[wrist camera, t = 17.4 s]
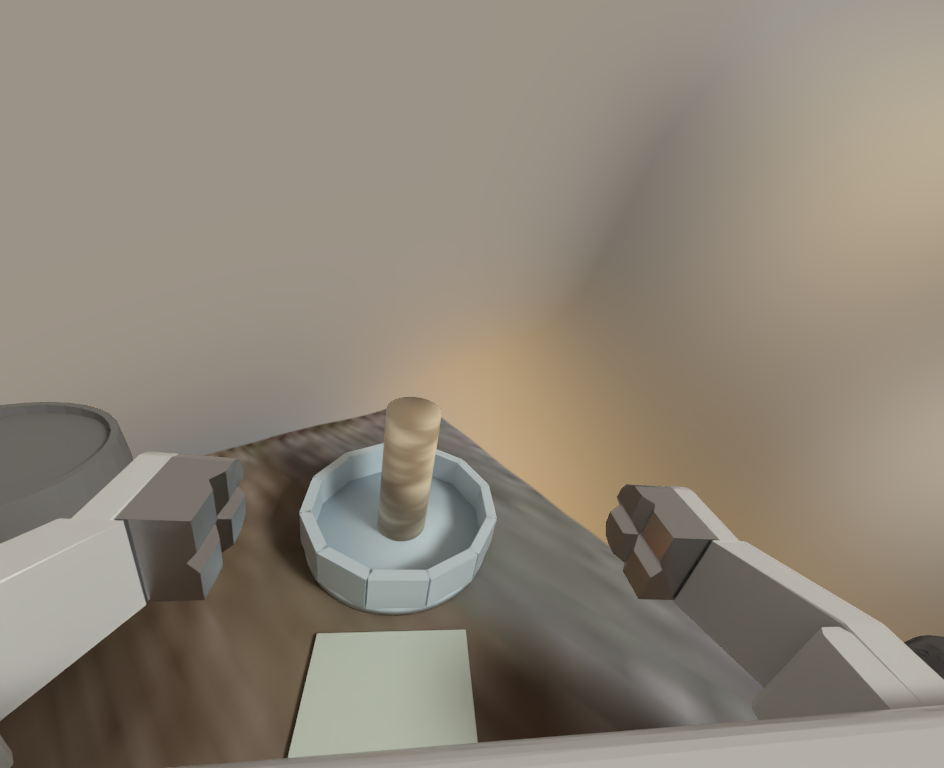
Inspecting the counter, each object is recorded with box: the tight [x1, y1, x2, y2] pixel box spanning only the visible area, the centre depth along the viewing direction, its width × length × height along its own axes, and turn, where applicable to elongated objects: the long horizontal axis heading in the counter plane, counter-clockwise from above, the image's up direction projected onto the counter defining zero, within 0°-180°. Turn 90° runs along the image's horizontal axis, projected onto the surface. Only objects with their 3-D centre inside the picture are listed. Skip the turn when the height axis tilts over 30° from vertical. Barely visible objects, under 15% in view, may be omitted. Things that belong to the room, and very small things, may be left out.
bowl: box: [299, 443, 497, 616], centre depth 40 cm, size 19×19×4 cm
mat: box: [288, 630, 478, 758], centre depth 26 cm, size 12×12×1 cm
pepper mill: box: [378, 397, 442, 541], centre depth 37 cm, size 5×5×14 cm
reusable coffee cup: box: [0, 402, 133, 544], centre depth 25 cm, size 13×12×15 cm
